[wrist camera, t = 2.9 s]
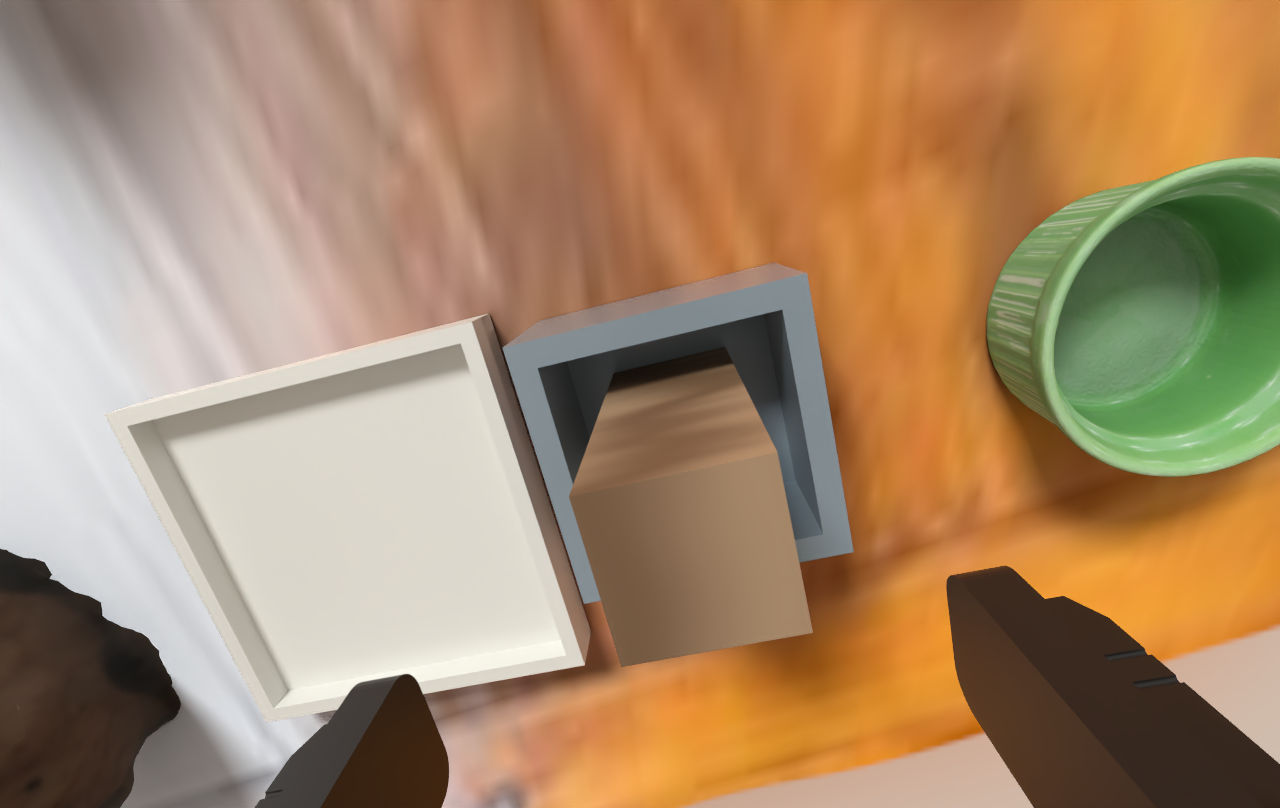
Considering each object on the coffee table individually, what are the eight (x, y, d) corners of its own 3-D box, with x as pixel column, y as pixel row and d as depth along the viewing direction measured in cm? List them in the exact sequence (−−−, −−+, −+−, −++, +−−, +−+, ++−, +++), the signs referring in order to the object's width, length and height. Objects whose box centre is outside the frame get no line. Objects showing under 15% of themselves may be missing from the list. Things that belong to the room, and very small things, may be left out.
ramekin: (1063, 476, 22) (1155, 534, 18) (914, 309, 21) (977, 330, 17) (1289, 309, 20) (1452, 330, 16) (1142, 109, 19) (1279, 74, 15)
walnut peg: (725, 346, 20) (777, 452, 11) (747, 451, 21) (813, 633, 12) (613, 372, 21) (568, 496, 11) (641, 474, 22) (621, 666, 12)
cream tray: (489, 313, 21) (471, 321, 19) (591, 631, 25) (585, 665, 23) (151, 398, 23) (104, 414, 21) (294, 686, 27) (266, 722, 25)
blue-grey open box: (773, 262, 20) (807, 273, 16) (814, 484, 23) (853, 552, 18) (538, 321, 21) (502, 348, 17) (600, 527, 24) (583, 603, 19)
